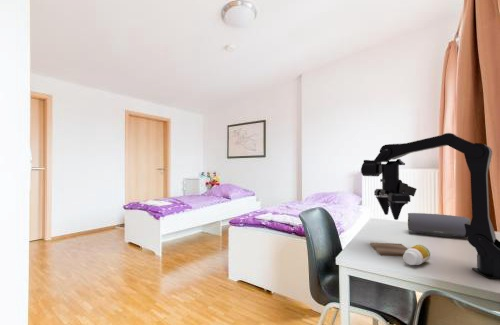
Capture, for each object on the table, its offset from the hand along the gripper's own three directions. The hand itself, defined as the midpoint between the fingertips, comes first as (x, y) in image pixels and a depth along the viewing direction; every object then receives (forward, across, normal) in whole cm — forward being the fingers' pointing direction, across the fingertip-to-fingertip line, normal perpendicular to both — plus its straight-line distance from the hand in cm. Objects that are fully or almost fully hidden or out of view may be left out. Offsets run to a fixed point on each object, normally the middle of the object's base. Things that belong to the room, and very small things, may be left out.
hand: (390, 217), depth 95 cm
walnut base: (+14, 0, 0) cm, 14 cm away
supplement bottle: (+10, -8, -7) cm, 15 cm away
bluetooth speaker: (+13, +24, -29) cm, 40 cm away
